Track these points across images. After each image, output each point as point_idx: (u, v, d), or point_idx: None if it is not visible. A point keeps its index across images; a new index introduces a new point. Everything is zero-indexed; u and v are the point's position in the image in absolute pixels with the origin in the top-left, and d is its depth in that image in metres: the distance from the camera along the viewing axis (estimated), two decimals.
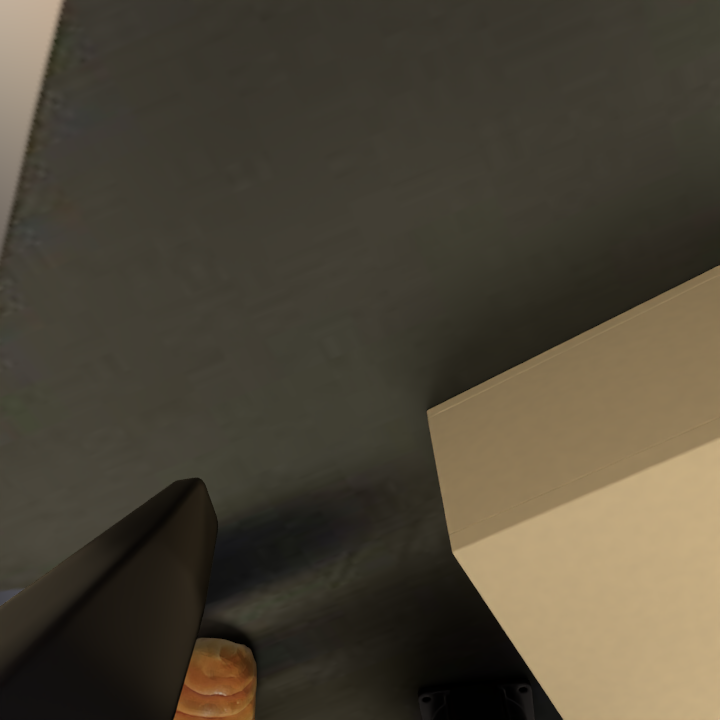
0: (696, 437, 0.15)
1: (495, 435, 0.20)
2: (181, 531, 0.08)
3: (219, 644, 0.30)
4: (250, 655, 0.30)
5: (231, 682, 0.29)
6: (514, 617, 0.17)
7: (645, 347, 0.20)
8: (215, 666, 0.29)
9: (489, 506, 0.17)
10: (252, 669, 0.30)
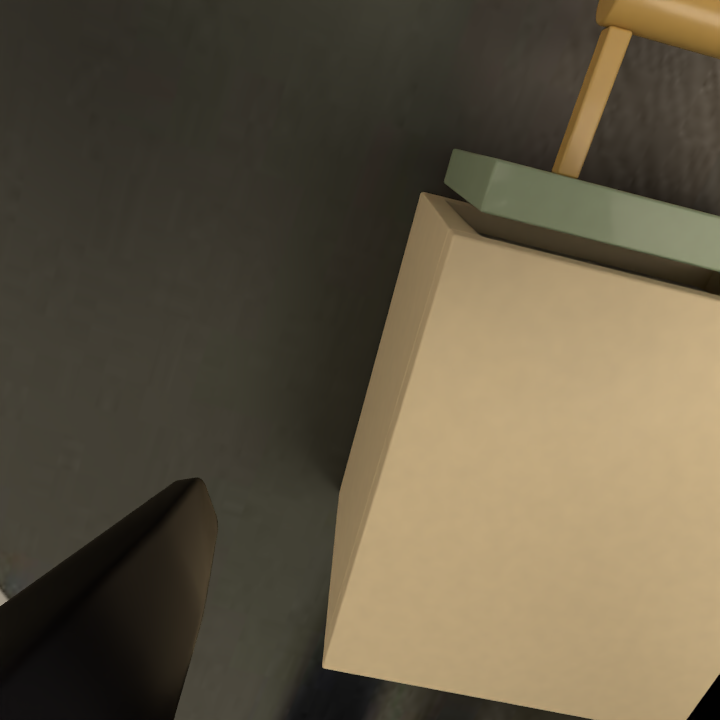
0: (380, 464, 0.15)
1: (346, 510, 0.21)
2: (181, 531, 0.08)
3: None
4: None
5: None
6: (428, 676, 0.17)
7: (386, 353, 0.19)
8: None
9: (334, 603, 0.18)
10: None
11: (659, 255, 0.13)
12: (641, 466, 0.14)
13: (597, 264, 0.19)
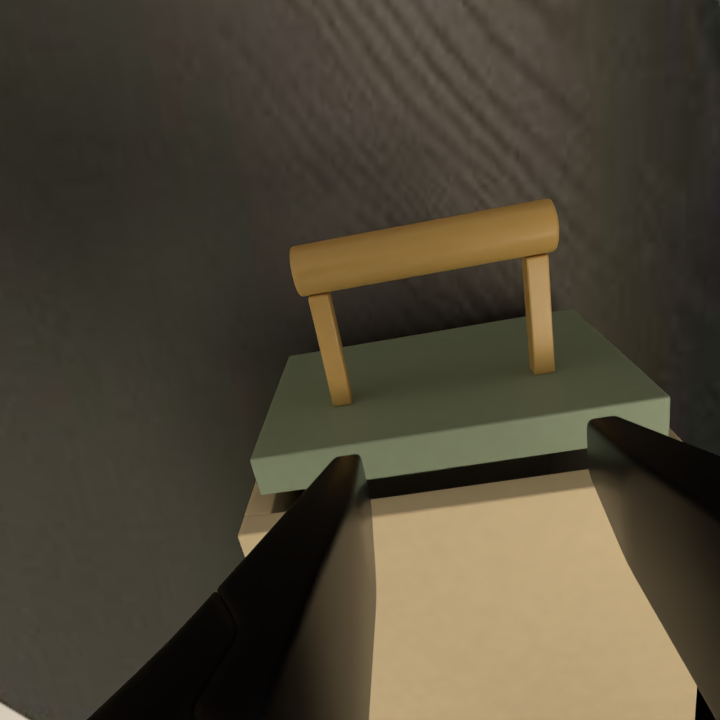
0: None
1: None
2: (360, 506, 0.08)
3: None
4: None
5: None
6: None
7: None
8: None
9: None
10: None
11: (420, 471, 0.15)
12: (498, 631, 0.16)
13: None
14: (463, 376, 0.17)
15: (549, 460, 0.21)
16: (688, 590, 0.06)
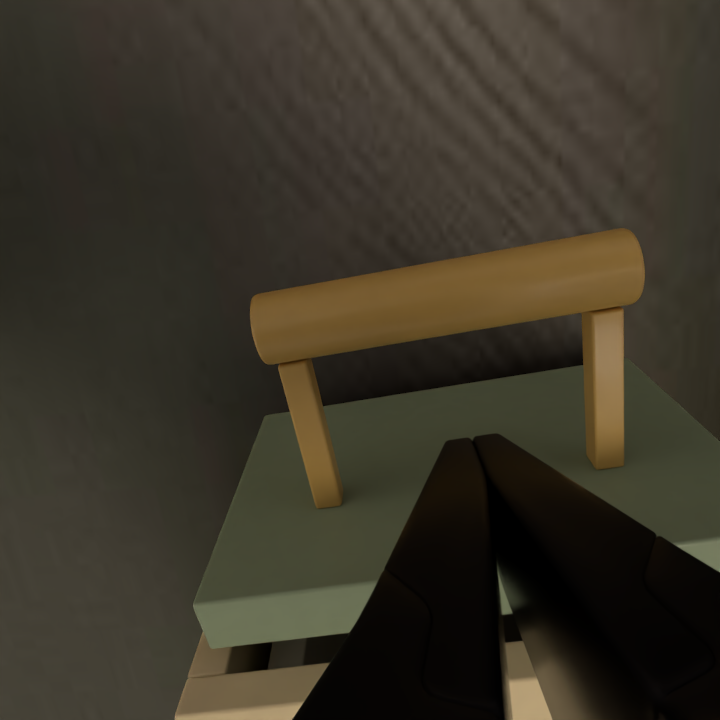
0: None
1: None
2: None
3: None
4: None
5: None
6: None
7: None
8: None
9: None
10: None
11: None
12: None
13: None
14: None
15: None
16: (530, 609, 0.06)
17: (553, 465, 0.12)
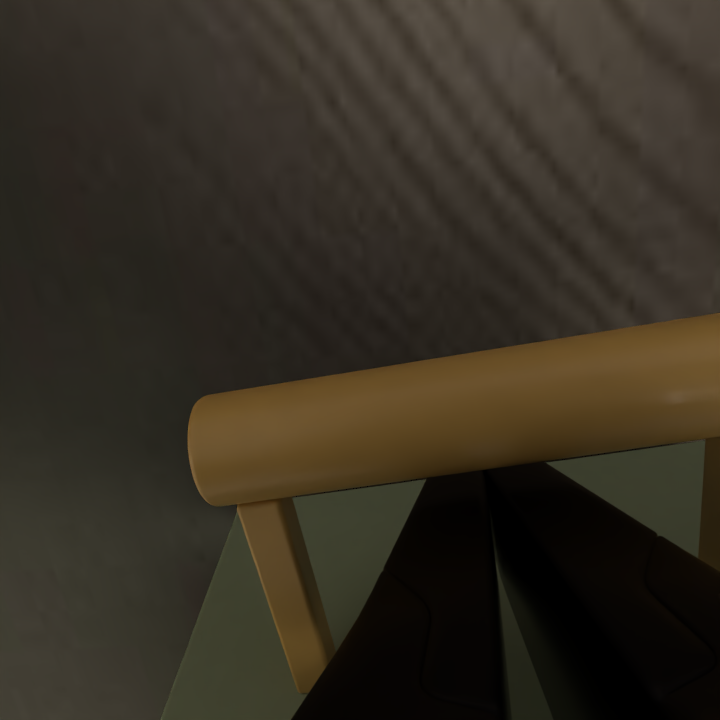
0: None
1: None
2: None
3: None
4: None
5: None
6: None
7: None
8: None
9: None
10: None
11: None
12: None
13: None
14: None
15: None
16: (531, 609, 0.06)
17: None
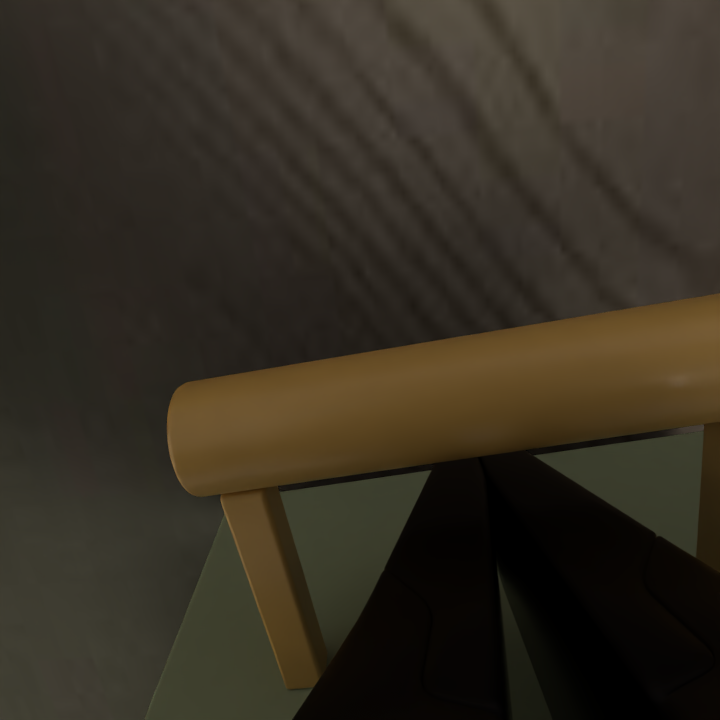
0: None
1: None
2: None
3: None
4: None
5: None
6: None
7: None
8: None
9: None
10: None
11: None
12: None
13: None
14: None
15: None
16: (530, 609, 0.06)
17: None
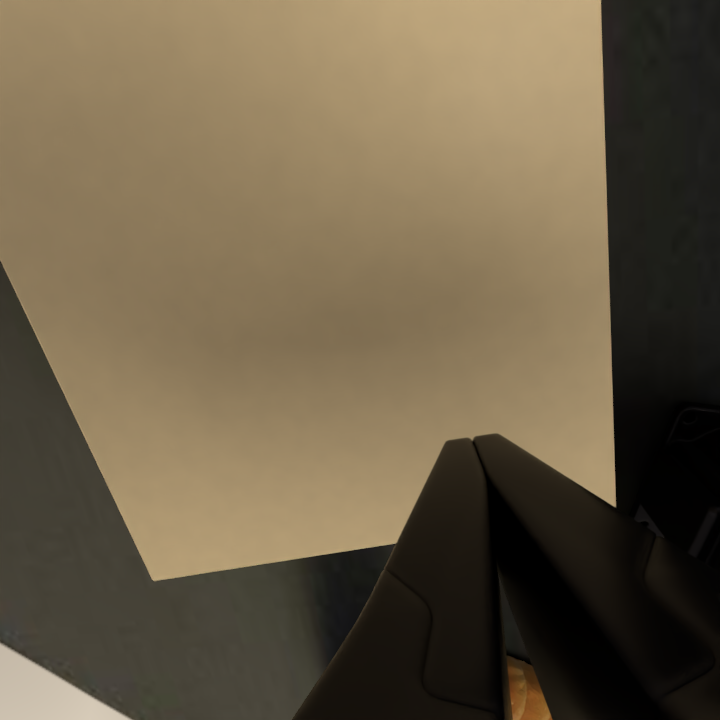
0: (34, 308, 0.12)
1: None
2: None
3: None
4: None
5: None
6: (268, 547, 0.14)
7: None
8: None
9: None
10: None
11: None
12: (299, 153, 0.10)
13: None
14: None
15: None
16: (530, 608, 0.06)
17: None
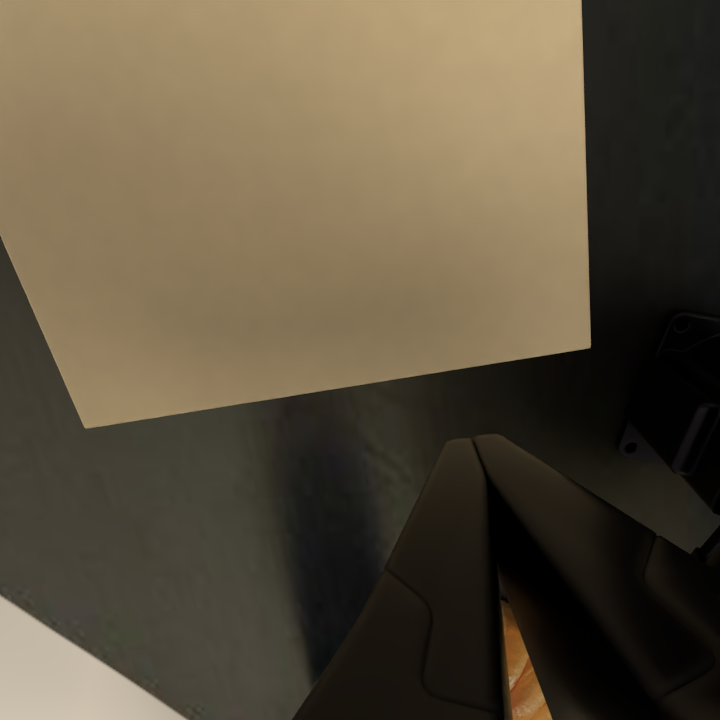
0: None
1: None
2: None
3: None
4: None
5: None
6: (209, 388, 0.13)
7: None
8: None
9: None
10: None
11: None
12: None
13: None
14: None
15: None
16: (530, 609, 0.06)
17: None
